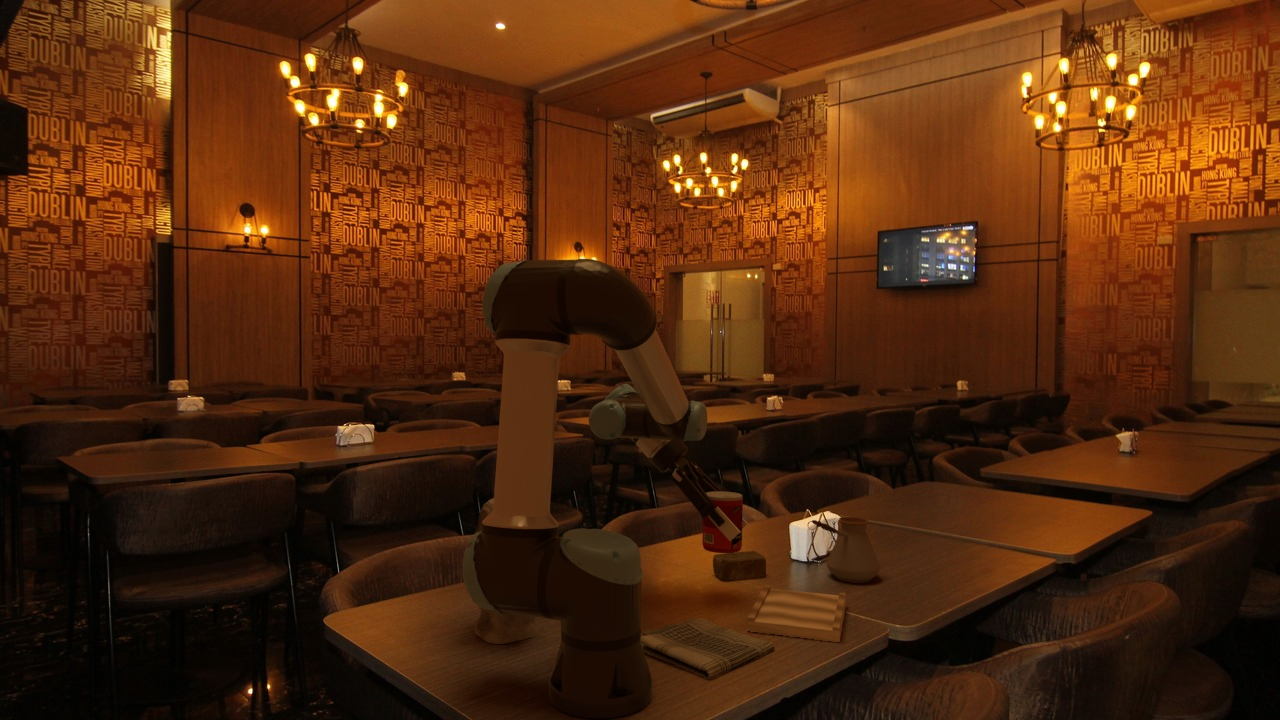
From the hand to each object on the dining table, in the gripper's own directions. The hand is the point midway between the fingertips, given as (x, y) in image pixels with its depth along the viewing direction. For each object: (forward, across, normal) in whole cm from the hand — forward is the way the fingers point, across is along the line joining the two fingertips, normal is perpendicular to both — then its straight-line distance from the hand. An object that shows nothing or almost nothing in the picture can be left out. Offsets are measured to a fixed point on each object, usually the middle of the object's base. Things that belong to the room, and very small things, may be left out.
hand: (739, 532), depth 157 cm
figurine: (-15, +30, -36) cm, 49 cm away
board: (+19, +6, -1) cm, 20 cm away
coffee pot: (+23, -20, +4) cm, 31 cm away
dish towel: (+10, +26, -12) cm, 30 cm away
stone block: (+8, -18, -12) cm, 23 cm away
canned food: (0, 0, -5) cm, 5 cm away
